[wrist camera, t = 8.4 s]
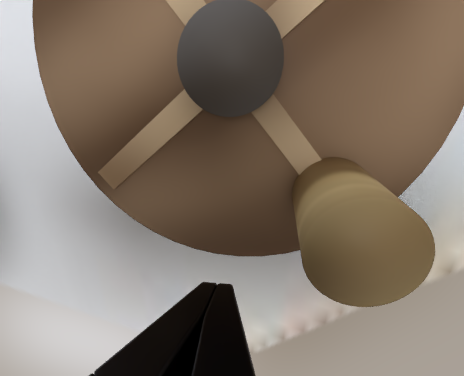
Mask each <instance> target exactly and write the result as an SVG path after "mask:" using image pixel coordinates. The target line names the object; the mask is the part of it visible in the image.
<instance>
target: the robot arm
mask: <svg viewBox="0 0 464 376" xmlns="http://www.w3.org/2000/svg"><path fill="white" fill-rule="evenodd" d="M89 376H255V371H254V368H253V364H252V360H251V356H250V352H249V348H248V344H247V340H246V336H245V332H244V328H243V324H242V321H241V317H240V313H239V309H238V305H237V301H236V297H235V293H234V289H233V286H232V285H231V284H221V283H220V284H218V285H217V284H216V283H210V282H203V283H201V284H200V285H198V286H197V287H196V288H195V289H194V290H192V291H191V292H190V293H189V294H187V295H186V296H185V297H184V298H183V299H181V300H180V301H179V302H178V303H177V304H175V305H174V306H173V307H172V308H170V309H169V310H168V311H167V312H166V313H164V314H163V315H162V316H161V317H160V318H158V319H157V320H156V321H155V322H153V323H152V324H151V325H150V326H149V327H147V328H146V329H145V330H144V331H143V332H141V333H140V334H139V335H138V336H137V337H135V338H134V339H133V340H132V341H130V342H129V343H128V344H127V345H126V346H125V347H123V348H122V349H121V350H119V352H117V353H116V354H115V355H113V357H111V358H110V359H109V360H108V361H106V362H105V363H104V364H103V365H101V366H100V367H99V368H98V369H96V371H95V373H94V374H90V375H89Z"/></svg>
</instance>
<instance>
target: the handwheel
mask: <svg viewBox="0 0 464 376" xmlns="http://www.w3.org/2000/svg"><path fill="white" fill-rule="evenodd" d="M33 29H34V42H35V50H36V56H37V61H38V67H39V72H40V77H41V80H42V84H43V87H44V90H45V94H46V97H47V101H48V104H49V106H50V108H51V111H52V113H53V116H54V118H55V121H56V123H57V126H58V128H59V130H60V132H61V134H62V135H63V137H64V139H65V141H66V143H67V145H68V147H69V149H70V150H71V152H72V153H73V155H74V156H75V158H76V159H77V161H78V162H79V164H80V165H81V167H82V168H83V170H84V171H85V172H86V173H87V175H88V176H89V177H90V178H91V180H92V181H93V182H94V183H95V184H96V186H97V187H98V188H99V189H100V190H101V191H102V192H103V193H104V194H105V195H106V196H107V197H108V198H109V199H110V200H111V201H112V202H113V203H114V204H115V205H116V206H118V207H119V208H120V209H122V210H123V211H124V212H125V213H127V214H128V215H129V216H130V217H132V218H133V219H134V220H136V221H137V222H139V223H141V224H142V225H144V226H145V227H147V228H149V229H150V230H152V231H153V232H156V233H158V234H160V235H162V236H164V237H166V238H168V239H170V240H172V241H174V242H177V243H180V244H183V245H186V246H189V247H191V248H194V249H199V250H203V251H207V252H211V253H216V254H224V255H233V256H267V255H276V254H285V253H289V252H293V251H298V250H300V251H301V257H302V263H303V268H304V271H305V273H306V275H307V277H308V279H309V280H310V282H311V283H312V285H313V286H314V287H315V288H316V289H317V290H318V291H320V292H321V293H322V294H323V295H325V296H327V297H328V298H330V299H332V300H334V301H336V302H339V303H342V304H346V305H350V306H357V307H373V306H380V305H385V304H388V303H391V302H394V301H397V300H399V299H401V298H403V297H405V296H407V295H408V294H409V293H411V292H412V291H414V290H415V289H416V288H417V287H418V286H419V285H420V284H421V283H422V282H423V281H424V279H425V278H426V277H427V275H428V274H429V272H430V269H431V267H432V264H433V261H434V256H435V243H434V238H433V235H432V233H431V230H430V229H429V227H428V225H427V224H426V222H425V221H424V220H423V219H422V218H421V217H420V216H419V215H418V214H417V213H416V212H415V211H413V210H412V209H411V208H410V207H409V206H407V205H406V204H405V203H404V202H403V201H401V200H400V199H399V198H398V196H400V195H401V194H402V193H403V192H404V191H405V190H406V189H407V188H408V187H409V186H410V184H411V183H412V182H413V181H414V180H415V179H416V178H417V177H418V176H419V175H420V174H421V173H422V172H423V170H424V169H425V168H426V167H427V165H428V164H429V163H430V161H431V160H432V159H433V157H434V156H435V155H436V153H437V152H438V151H439V149H440V148H441V147H442V145H443V143H444V141H445V140H446V138H447V136H448V135H449V133H450V131H451V129H452V128H453V126H454V124H455V123H456V121H457V119H458V117H459V115H460V113H461V110H462V108H463V106H464V0H33Z"/></svg>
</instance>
